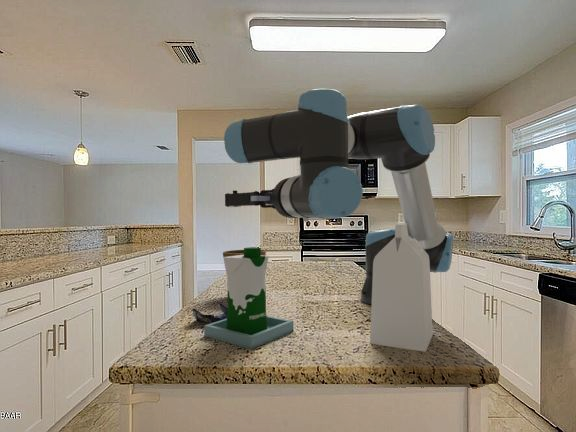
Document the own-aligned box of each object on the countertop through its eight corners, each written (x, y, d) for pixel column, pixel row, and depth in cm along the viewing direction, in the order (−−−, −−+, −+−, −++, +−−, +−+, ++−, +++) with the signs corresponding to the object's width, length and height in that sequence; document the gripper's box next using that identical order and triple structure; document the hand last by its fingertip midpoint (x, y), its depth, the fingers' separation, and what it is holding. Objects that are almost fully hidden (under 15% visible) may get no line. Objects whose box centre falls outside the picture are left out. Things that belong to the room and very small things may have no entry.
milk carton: (246, 340, 84) (245, 250, 84) (220, 332, 90) (219, 248, 90) (273, 330, 91) (272, 247, 91) (246, 323, 96) (245, 245, 96)
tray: (293, 331, 92) (293, 320, 92) (251, 349, 80) (251, 337, 80) (248, 321, 101) (248, 311, 101) (204, 336, 89) (204, 325, 89)
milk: (383, 328, 93) (382, 223, 93) (432, 334, 88) (431, 223, 88) (370, 343, 83) (368, 224, 83) (425, 351, 77) (424, 224, 77)
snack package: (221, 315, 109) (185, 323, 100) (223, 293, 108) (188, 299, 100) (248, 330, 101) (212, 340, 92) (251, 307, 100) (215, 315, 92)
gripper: (230, 219, 63) (206, 218, 82) (357, 216, 73) (308, 216, 92) (230, 174, 63) (205, 184, 82) (357, 177, 73) (308, 185, 92)
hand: (260, 201), depth 87 cm, fingers open, 13 cm apart
